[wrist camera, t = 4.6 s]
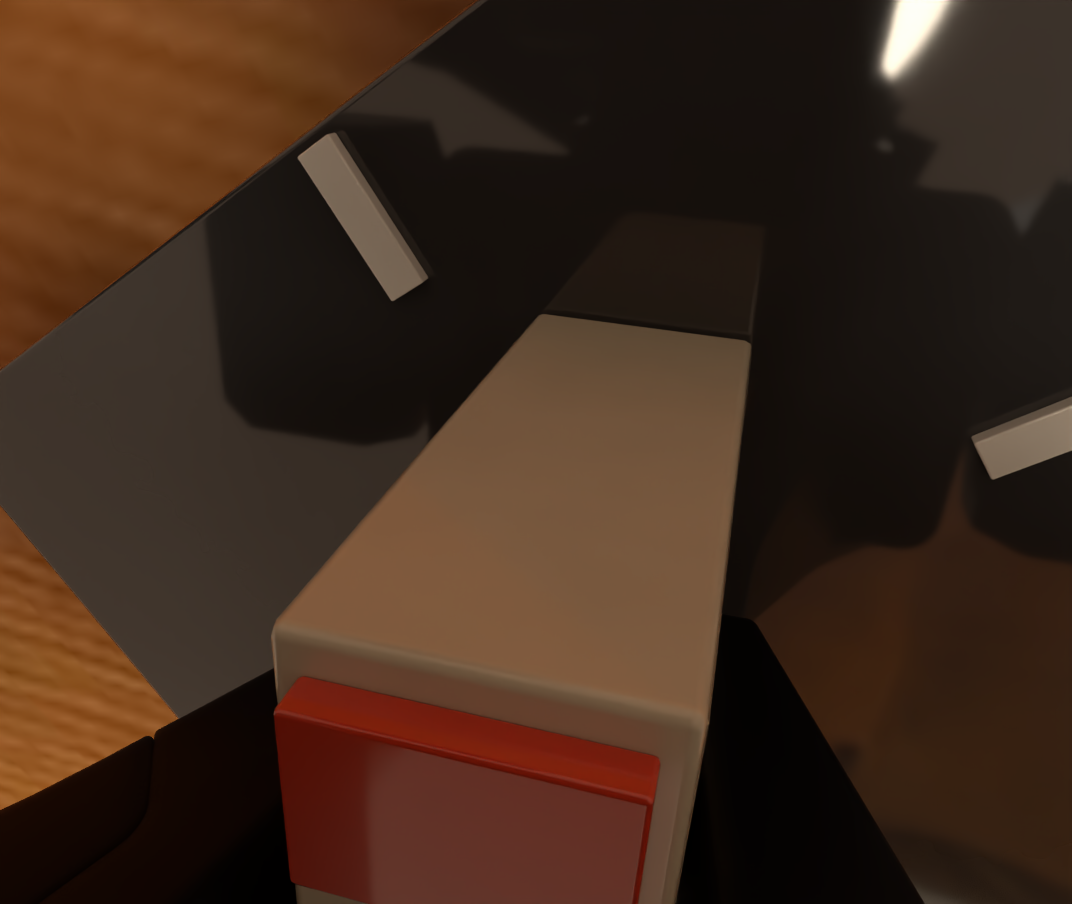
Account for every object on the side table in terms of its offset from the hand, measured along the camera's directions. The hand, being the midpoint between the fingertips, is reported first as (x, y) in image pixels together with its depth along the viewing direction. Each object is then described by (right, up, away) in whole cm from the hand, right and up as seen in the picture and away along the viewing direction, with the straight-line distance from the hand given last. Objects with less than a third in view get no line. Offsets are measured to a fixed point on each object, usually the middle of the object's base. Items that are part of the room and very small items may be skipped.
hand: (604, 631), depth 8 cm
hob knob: (0, 0, 0) cm, 0 cm away
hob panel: (+1, +2, +3) cm, 4 cm away
